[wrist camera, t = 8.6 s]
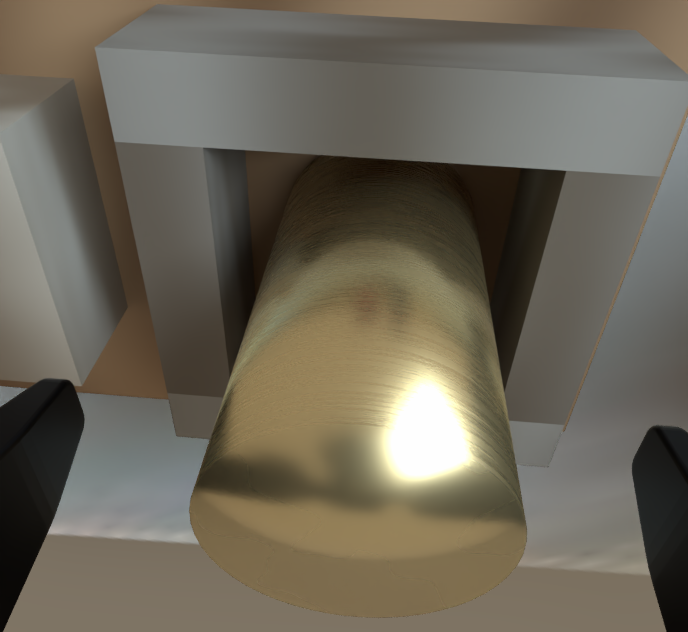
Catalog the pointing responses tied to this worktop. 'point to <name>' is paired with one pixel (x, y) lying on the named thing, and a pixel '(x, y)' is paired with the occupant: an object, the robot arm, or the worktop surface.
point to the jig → (297, 153)
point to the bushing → (366, 405)
